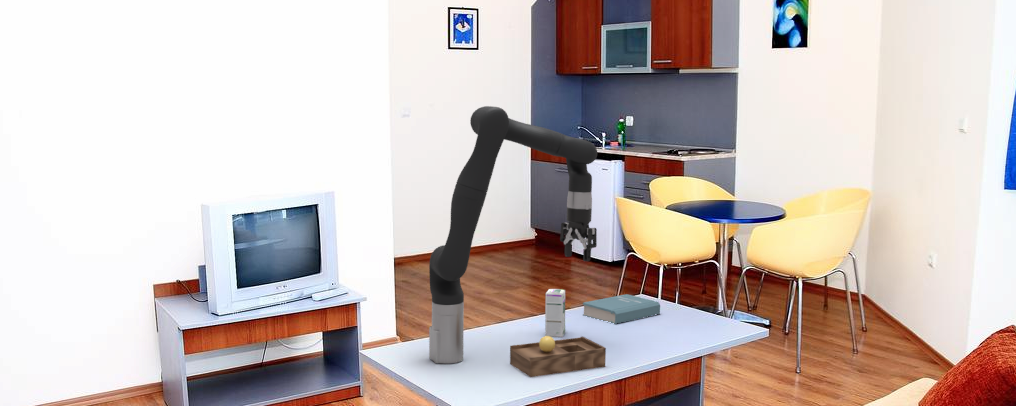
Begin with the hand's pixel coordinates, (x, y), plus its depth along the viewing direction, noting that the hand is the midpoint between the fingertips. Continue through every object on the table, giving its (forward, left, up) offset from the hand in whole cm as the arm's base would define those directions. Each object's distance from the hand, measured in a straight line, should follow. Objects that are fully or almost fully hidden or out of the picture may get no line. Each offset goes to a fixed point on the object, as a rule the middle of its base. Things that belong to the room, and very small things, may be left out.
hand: (577, 258), depth 273 cm
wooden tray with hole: (-15, -16, -27) cm, 35 cm away
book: (+34, +28, -28) cm, 52 cm away
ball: (-18, -16, -21) cm, 32 cm away
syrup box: (0, +14, -28) cm, 31 cm away
